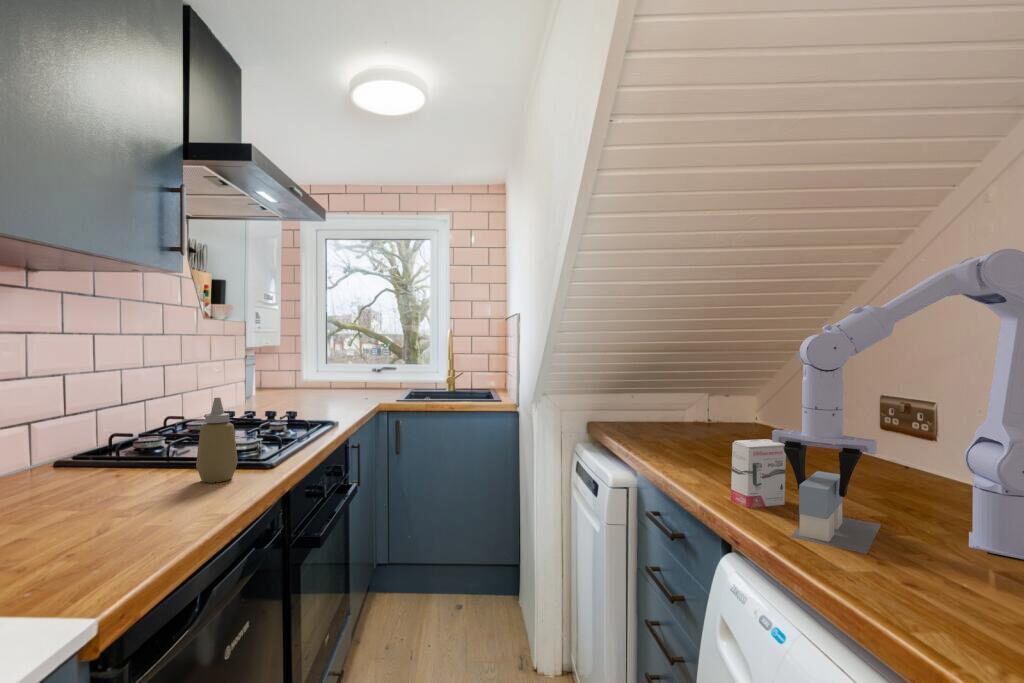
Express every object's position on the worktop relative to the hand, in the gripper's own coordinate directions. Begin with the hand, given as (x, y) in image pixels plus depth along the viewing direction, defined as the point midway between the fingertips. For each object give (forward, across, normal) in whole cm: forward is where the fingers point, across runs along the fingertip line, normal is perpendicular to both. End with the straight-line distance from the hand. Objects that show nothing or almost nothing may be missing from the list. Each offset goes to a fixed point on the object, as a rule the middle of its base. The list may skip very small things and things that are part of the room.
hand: (821, 491), depth 85 cm
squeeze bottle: (+7, +106, +53) cm, 119 cm away
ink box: (+7, +12, -8) cm, 16 cm away
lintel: (+2, 0, 0) cm, 2 cm away
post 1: (+6, 0, +4) cm, 7 cm away
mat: (+6, -2, -1) cm, 7 cm away
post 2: (+6, 0, -4) cm, 7 cm away
